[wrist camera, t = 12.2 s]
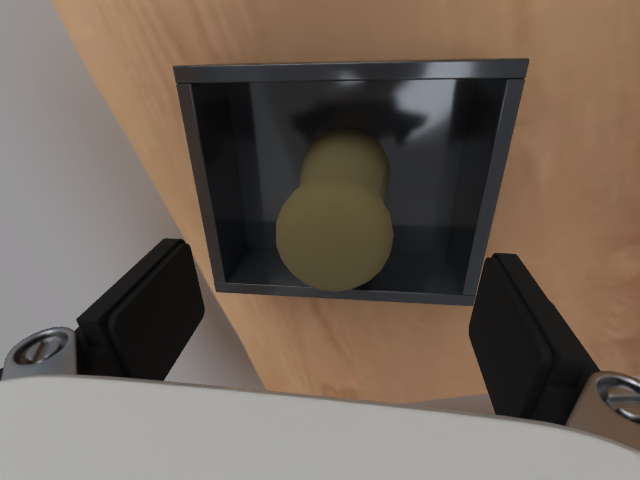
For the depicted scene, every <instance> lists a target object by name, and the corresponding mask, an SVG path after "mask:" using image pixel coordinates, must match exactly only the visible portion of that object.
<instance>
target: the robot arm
mask: <svg viewBox="0 0 640 480" xmlns="http://www.w3.org/2000/svg"><path fill="white" fill-rule="evenodd" d="M204 311H205V308H204V303H203V299H202V295H201V290H200V286H199V282H198V277H197V273H196V269H195V265H194V261H193V256H192V252H191V248H190V246H189V244H186V243H185V241H184V240H182V239H168V238H166V239H163V240H162V241H161V242H160V243H159V244H157V245H156V246H155V247H154V248H153V249H152V250H151V251H150V252H149V253H148V254H147V255H146V256H144V257H143V258H142V259H141V260H140V261H139V262H138V263H137V264H136V265H135V266H134V267H132V268H131V269H130V270H129V271H128V272H127V273H126V274H125V275H124V276H123V277H122V278H121V279H120V280H118V281H117V282H116V283H115V284H114V285H113V286H112V287H111V288H110V289H109V290H108V291H106V292H105V293H104V294H103V295H102V296H101V297H100V298H99V299H98V300H97V301H96V302H94V303H93V304H92V305H91V306H90V307H89V308H88V309H87V310H86V311H85V312H84V313H83V314H81V315H80V316H79V317H78V318H77V319H76V320H77V323H78V325H79V327H78V328H77V329H76V330H75V331H73V330H72V329H70V328H67V327H53V328H50V329H46V330H42V331H40V332H37V333H34V334H33V335H30V336H29V337H27V338H25V339H23V340H22V341H21V342H19V343H18V344H17V345H15V346H14V347H13V348H12V349H11V350H10V352H9V353H8V355H7V357H6V359H5V363H4V368H2V369H0V480H640V380H638V379H636V378H633V377H631V376H628V375H626V374H622V373H618V372H613V371H600V370H599V368H598V367H597V365H596V364H595V363H594V361H593V360H592V358H591V357H590V356H589V354H588V353H587V351H586V350H585V348H584V347H583V346H582V344H581V343H580V341H579V340H578V339H577V337H576V336H575V334H574V333H573V332H572V330H571V329H570V327H569V326H568V324H567V323H566V322H565V320H564V319H563V317H562V316H561V315H560V313H559V312H558V310H557V309H556V308H555V306H554V305H553V304H552V303H551V302H550V301H549V300H548V298H547V297H546V295H545V294H544V293H543V291H542V290H541V288H540V287H539V286H538V284H537V283H536V281H535V280H534V278H533V277H532V276H531V274H530V273H529V271H528V270H527V268H526V267H525V266H524V264H523V263H522V261H521V260H520V258H519V257H518V256H517V255H516V254H506V253H494V254H493V255H492V258H486V260H485V263H484V267H483V271H482V275H481V279H480V283H479V287H478V291H477V295H476V299H475V304H474V308H473V312H472V316H471V320H470V324H469V337H470V340H471V343H472V346H473V349H474V352H475V355H476V358H477V361H478V364H479V367H480V370H481V373H482V376H483V379H484V381H485V384H486V387H487V390H488V393H489V396H490V399H491V402H492V405H493V408H494V411H495V414H496V415H494V414H486V413H477V412H468V411H460V410H451V409H442V408H433V407H423V406H413V405H404V404H395V403H385V402H375V401H366V400H356V399H346V398H337V397H326V396H316V395H306V394H296V393H286V392H276V391H265V390H255V389H245V388H235V387H224V386H212V385H201V384H191V383H180V382H170V381H164V379H165V378H166V376H167V375H168V373H169V371H170V370H171V368H172V366H173V365H174V363H175V362H176V360H177V358H178V357H179V355H180V354H181V352H182V350H183V349H184V347H185V346H186V344H187V342H188V341H189V339H190V338H191V336H192V334H193V333H194V331H195V330H196V328H197V326H198V325H199V323H200V322H201V320H202V318H203V316H204Z"/></svg>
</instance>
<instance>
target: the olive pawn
mask: <svg viewBox="0 0 640 480" xmlns="http://www.w3.org/2000/svg"><path fill="white" fill-rule="evenodd" d="M389 174H390V168H389V163H388V157H387V155H386V153H385V152H384V150H383V148H382V146H381V145H380V144H379V143H378V142H377V141H376V140H375V139H374V138H373V137H372V136H370V135H369V134H366V133H364V132H362V131H359V130H357V129H348V128H340V129H336V130H332V131H328V132H326V133H324V134H323V135H321V136H320V137H318V138H317V139H315V140H314V142H313V143H312V144H311V145H310V146H309V148H308V149H307V150H306V153H305V156H304V158H303V161H302V165H301V173H300V181H299V188H297V189H296V190H295V191H294V192H293V193H292V194H291V196H290V197H289V198H288V199H287V200H286V202H285V203H284V205H283V206H282V208H281V211H280V214H279V216H278V219H277V222H276V246H277V249H278V251H279V254H280V257H281V260H282V261H283V263H284V264H285V265H286V266H287V268H288V269H289V270H290V272H291V273H292V274H293V275H294V276H295V277H297V278H298V279H299V280H301V281H302V282H303V283H305V284H306V285H309V286H311V287H314V288H317V289H319V290H325V291H333V292H337V291H344V290H351V289H353V288H355V287H358V286H360V285H362V284H364V283H366V282H369V281H370V280H371V279H372V278H373V277H374V276H375V275H377V274H378V273H379V272H380V271H381V269H382V268H383V266H384V264H385V263H386V261H387V259H388V257H389V255H390V252H391V248H392V242H393V237H394V234H393V228H392V223H391V217H390V213H389V211H388V209H387V207H386V206H385V204H384V199H385V194H386V190H387V186H388V180H389Z"/></svg>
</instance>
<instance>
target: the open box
mask: <svg viewBox="0 0 640 480" xmlns="http://www.w3.org/2000/svg"><path fill="white" fill-rule="evenodd" d="M528 64H529V59H528V58H482V59H435V60H388V61H340V62H293V63H246V64H207V65H181V66H173V70H174V75H175V81H176V83H178V84H177V85H176V86H177V91H178V96H179V101H180V107H181V112H182V117H183V122H184V127H185V133H186V138H187V143H188V148H189V153H190V159H191V164H192V169H193V174H194V179H195V185H196V190H197V195H198V200H199V205H200V211H201V216H202V221H203V226H204V232H205V237H206V242H207V247H208V252H209V258H210V263H211V268H212V273H213V278H214V285H215V290H216V292H224V293H242V294H261V295H279V296H297V297H315V298H333V299H352V300H370V301H388V302H406V303H424V304H443V305H461V306H473V305H474V300H475V295H476V291H477V286H478V282H479V278H480V273H481V269H482V265H483V260H484V256H485V251H486V247H487V243H488V238H489V234H490V230H491V225H492V221H493V217H494V212H495V208H496V204H497V199H498V195H499V190H500V186H501V182H502V177H503V173H504V169H505V164H506V160H507V156H508V151H509V147H510V143H511V138H512V134H513V129H514V125H515V121H516V116H517V112H518V108H519V103H520V99H521V95H522V90H523V86H524V82H525V79H524V78H525V77H526V73H527V68H528ZM340 128H348V129H357V130H359V131H362V132H364V133H366V134H369V135H370V136H372V137H373V138H374V139H375V140H376V141H377V142H378V143H379V144H380V145H381V146H382V148H383V150H384V152H385V153H386V155H387V157H388V163H389V168H390V174H389V180H388V186H387V190H386V194H385V199H384V204H385V206H386V207H387V209H388V211H389V213H390V217H391V223H392V228H393V234H394V237H393V242H392V248H391V252H390V255H389V257H388V259H387V261H386V263H385V264H384V266H383V268H382V269H381V271H380V272H379V273H378V274H377V275H375V276H374V277H373V278H372V279H371V280H370V281H369V282H366V283H364V284H362V285H360V286H358V287H355V288H353V289H351V290H344V291H337V292H333V291H325V290H319V289H317V288H314V287H311V286H309V285H306V284H305V283H303V282H302V281H301V280H299V279H298V278H297V277H295V276H294V275H293V274H292V273H291V272H290V270H289V269H288V268H287V266H286V265H285V264H284V263H283V261H282V260H281V257H280V254H279V251H278V249H277V246H276V222H277V219H278V216H279V214H280V211H281V208H282V206H283V205H284V203H285V202H286V200H287V199H288V198H289V197H290V196H291V194H292V193H293V192H294V191H295V190H296V189H297V188H299V181H300V173H301V165H302V161H303V158H304V156H305V153H306V150H307V149H308V148H309V146H310V145H311V144H312V143H313V142H314V140H315V139H317V138H318V137H320V136H321V135H323V134H324V133H326V132H328V131H332V130H336V129H340Z"/></svg>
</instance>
